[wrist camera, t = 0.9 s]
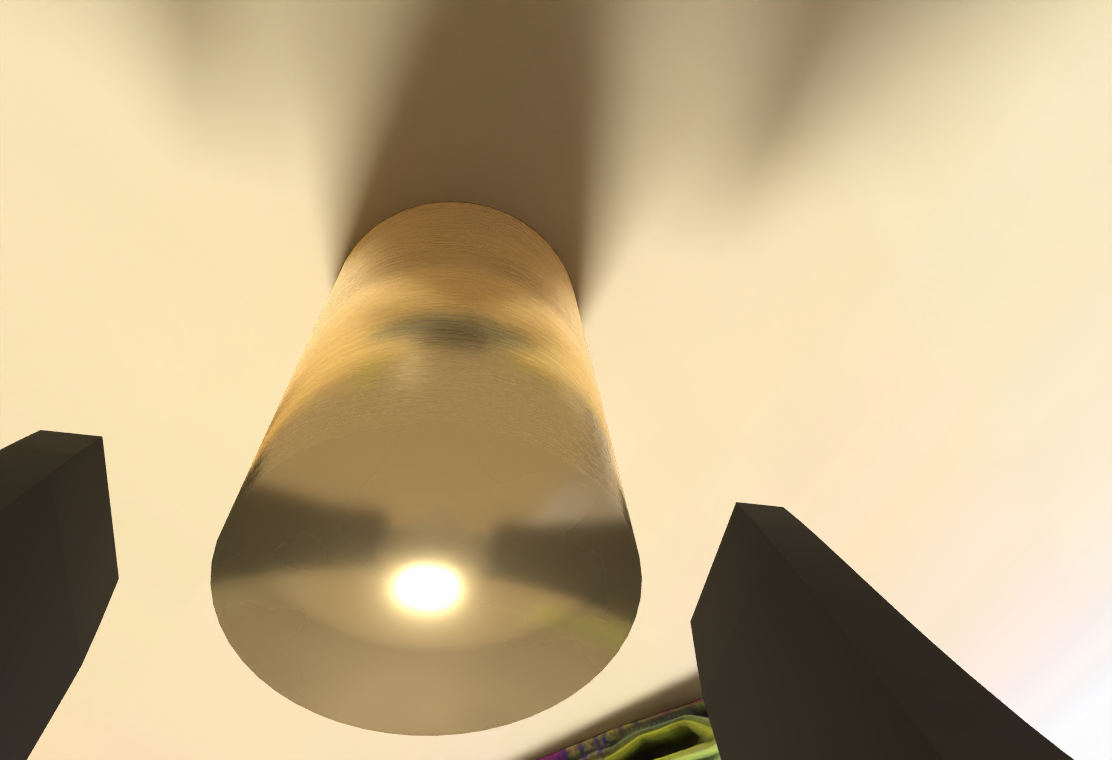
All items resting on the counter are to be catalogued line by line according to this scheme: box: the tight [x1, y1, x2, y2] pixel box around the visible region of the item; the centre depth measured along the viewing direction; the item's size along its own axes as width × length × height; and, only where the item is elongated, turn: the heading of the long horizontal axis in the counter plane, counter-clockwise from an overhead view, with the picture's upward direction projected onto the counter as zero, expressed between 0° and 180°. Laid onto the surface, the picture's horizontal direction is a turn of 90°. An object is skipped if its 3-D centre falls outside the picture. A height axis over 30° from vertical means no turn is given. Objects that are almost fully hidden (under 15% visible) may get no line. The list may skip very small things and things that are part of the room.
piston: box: [211, 202, 642, 736], centre depth 11 cm, size 4×4×7 cm
